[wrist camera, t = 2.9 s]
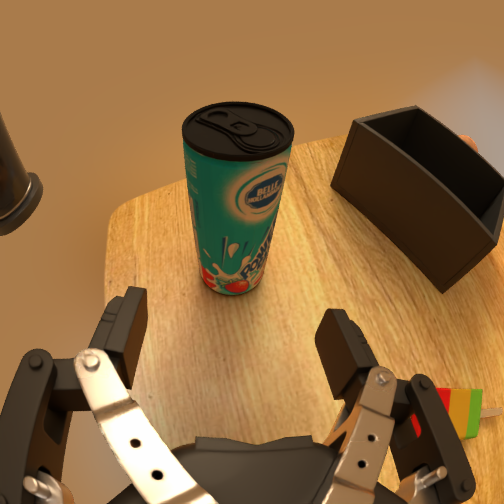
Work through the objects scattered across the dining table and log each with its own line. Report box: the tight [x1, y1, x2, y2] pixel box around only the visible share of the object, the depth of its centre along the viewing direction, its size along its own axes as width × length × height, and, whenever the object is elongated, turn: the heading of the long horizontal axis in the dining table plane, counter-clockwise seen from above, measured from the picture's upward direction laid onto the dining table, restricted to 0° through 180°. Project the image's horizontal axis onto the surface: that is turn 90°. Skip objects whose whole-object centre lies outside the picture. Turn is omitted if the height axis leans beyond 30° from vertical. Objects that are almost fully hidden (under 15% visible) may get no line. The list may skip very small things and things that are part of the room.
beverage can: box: [182, 102, 294, 295], centre depth 19 cm, size 6×6×15 cm
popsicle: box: [411, 388, 503, 440], centre depth 17 cm, size 6×15×2 cm, turn 74°
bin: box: [330, 105, 504, 294], centre depth 29 cm, size 20×20×10 cm
